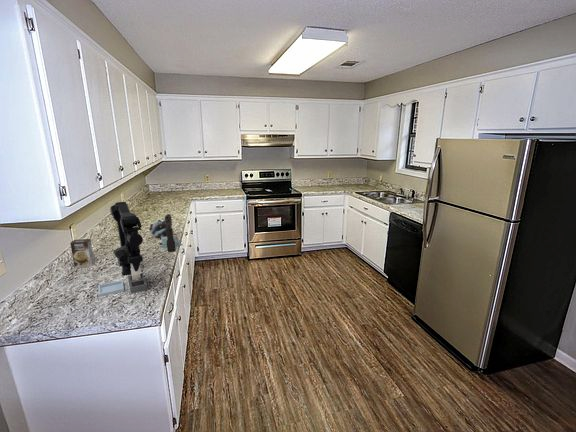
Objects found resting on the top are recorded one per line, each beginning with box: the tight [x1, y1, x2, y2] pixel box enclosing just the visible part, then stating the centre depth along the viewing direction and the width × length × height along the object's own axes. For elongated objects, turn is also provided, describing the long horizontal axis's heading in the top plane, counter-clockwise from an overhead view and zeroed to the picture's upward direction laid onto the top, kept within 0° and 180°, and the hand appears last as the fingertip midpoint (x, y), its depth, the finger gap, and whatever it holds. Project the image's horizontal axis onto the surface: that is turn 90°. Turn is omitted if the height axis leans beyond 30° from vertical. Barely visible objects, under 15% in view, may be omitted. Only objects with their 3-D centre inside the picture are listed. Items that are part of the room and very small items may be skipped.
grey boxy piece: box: [127, 272, 148, 294], centre depth 160 cm, size 16×8×8 cm, turn 31°
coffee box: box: [69, 238, 95, 269], centre depth 184 cm, size 9×6×16 cm
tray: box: [97, 279, 125, 298], centre depth 156 cm, size 11×11×2 cm
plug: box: [130, 263, 142, 275], centre depth 154 cm, size 4×4×7 cm
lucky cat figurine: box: [148, 219, 166, 239], centre depth 241 cm, size 15×12×14 cm
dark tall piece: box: [158, 213, 184, 253], centre depth 217 cm, size 16×21×33 cm
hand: (135, 269), depth 154 cm, fingers closed on plug, 4 cm apart
